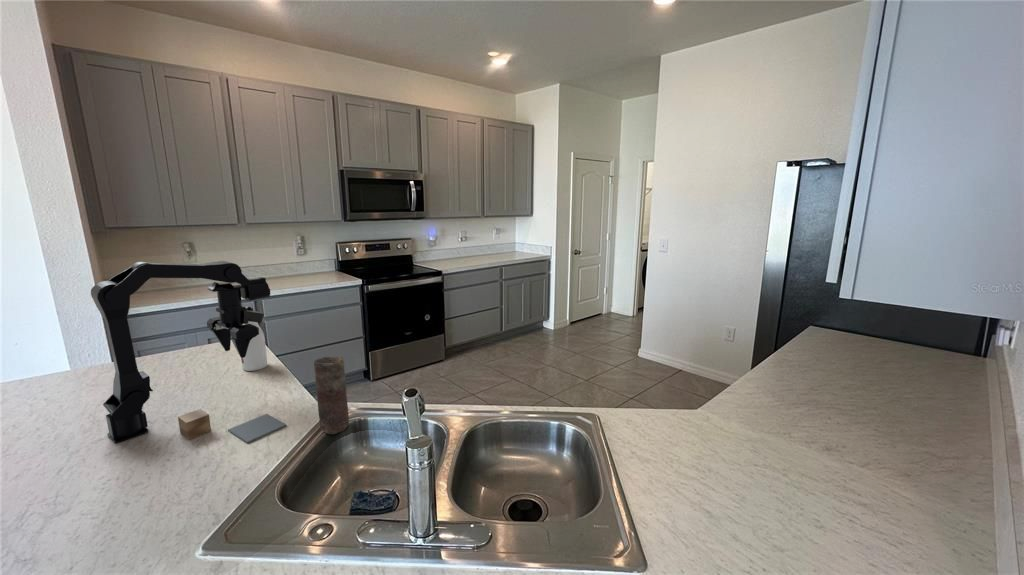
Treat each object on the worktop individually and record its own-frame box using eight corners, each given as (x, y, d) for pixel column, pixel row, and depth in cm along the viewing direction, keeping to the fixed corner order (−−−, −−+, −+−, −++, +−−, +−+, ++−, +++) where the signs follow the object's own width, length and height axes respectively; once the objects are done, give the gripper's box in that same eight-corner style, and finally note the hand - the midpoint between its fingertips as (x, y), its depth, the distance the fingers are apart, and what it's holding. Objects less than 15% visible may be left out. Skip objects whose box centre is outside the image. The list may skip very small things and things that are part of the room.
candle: (313, 429, 110) (307, 360, 106) (336, 417, 116) (331, 351, 112) (332, 438, 107) (327, 366, 102) (355, 425, 113) (351, 356, 109)
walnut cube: (188, 440, 104) (186, 422, 103) (180, 434, 107) (177, 416, 106) (211, 431, 108) (208, 414, 107) (202, 425, 111) (200, 408, 110)
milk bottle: (272, 363, 152) (267, 311, 147) (257, 372, 144) (251, 317, 140) (252, 362, 152) (247, 310, 148) (237, 370, 145) (230, 316, 141)
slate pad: (247, 443, 103) (247, 441, 103) (228, 431, 108) (227, 429, 108) (286, 426, 111) (286, 424, 111) (267, 415, 117) (266, 413, 117)
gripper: (275, 304, 123) (279, 353, 126) (243, 294, 132) (247, 340, 135) (234, 311, 113) (240, 364, 116) (203, 301, 123) (209, 350, 126)
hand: (235, 354), depth 124 cm, fingers open, 9 cm apart
